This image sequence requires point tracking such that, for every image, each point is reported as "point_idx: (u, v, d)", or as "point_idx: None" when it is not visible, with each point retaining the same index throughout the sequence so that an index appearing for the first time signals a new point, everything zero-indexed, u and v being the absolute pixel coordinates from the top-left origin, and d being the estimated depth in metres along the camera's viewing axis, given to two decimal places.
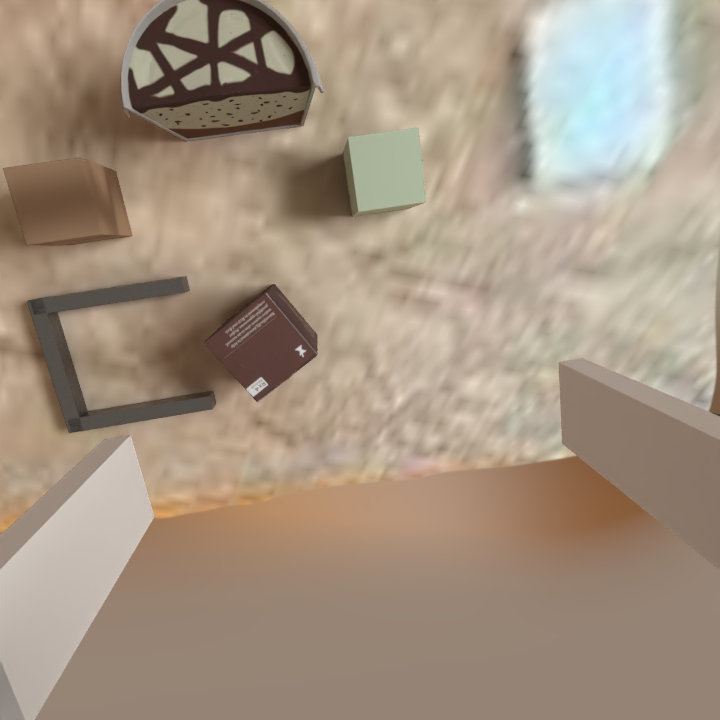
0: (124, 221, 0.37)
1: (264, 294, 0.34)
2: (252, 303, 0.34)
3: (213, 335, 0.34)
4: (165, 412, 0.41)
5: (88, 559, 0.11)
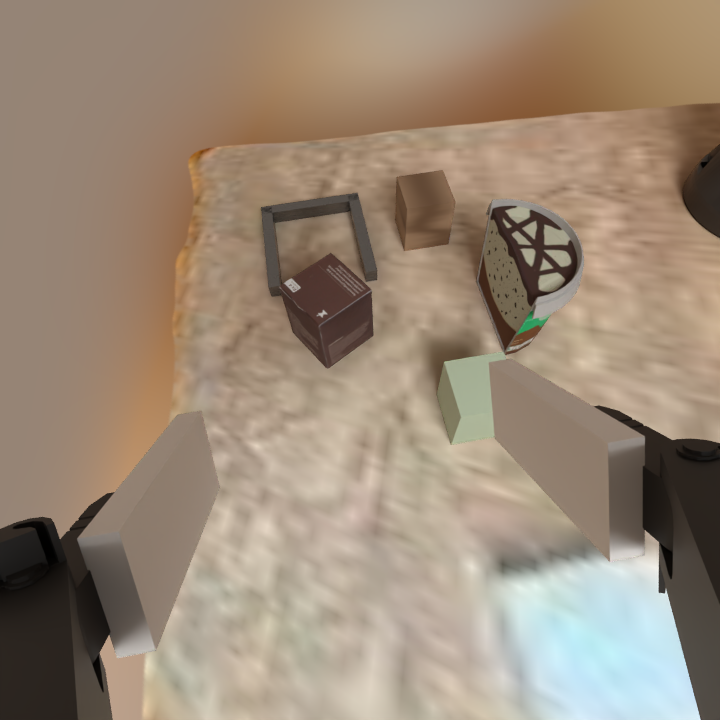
0: (414, 243, 0.52)
1: (370, 289, 0.41)
2: (362, 282, 0.42)
3: (336, 258, 0.43)
4: (269, 258, 0.51)
5: (181, 515, 0.12)
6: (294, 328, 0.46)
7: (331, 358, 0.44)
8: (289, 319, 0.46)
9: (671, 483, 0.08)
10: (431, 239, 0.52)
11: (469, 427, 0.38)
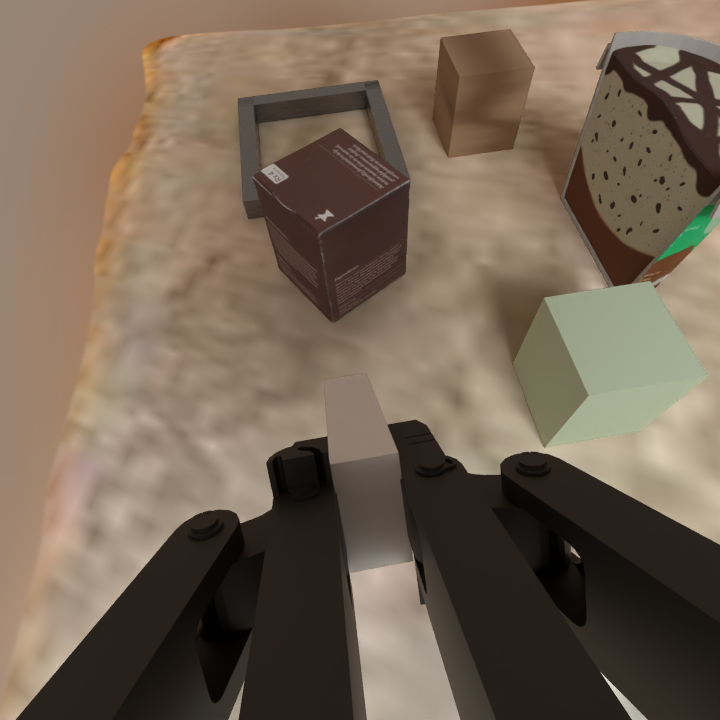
0: (464, 145, 0.35)
1: (407, 178, 0.24)
2: (394, 169, 0.24)
3: (350, 135, 0.26)
4: (246, 163, 0.34)
5: None
6: (280, 259, 0.29)
7: (339, 304, 0.27)
8: (272, 244, 0.29)
9: (413, 504, 0.08)
10: (489, 138, 0.35)
11: (591, 417, 0.21)
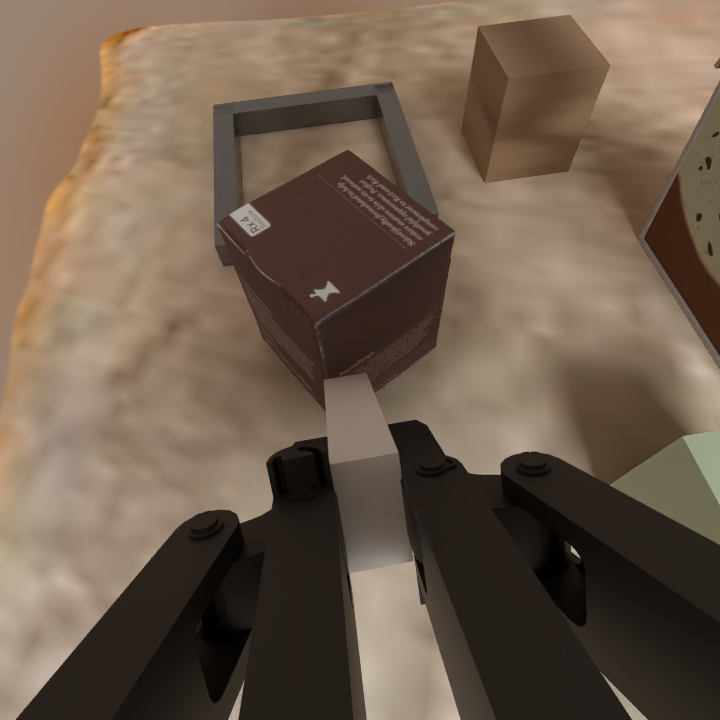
0: (506, 167, 0.27)
1: (451, 230, 0.16)
2: (429, 213, 0.16)
3: (362, 161, 0.18)
4: (221, 191, 0.26)
5: None
6: (263, 329, 0.21)
7: None
8: (252, 309, 0.21)
9: (414, 504, 0.08)
10: (539, 159, 0.27)
11: None
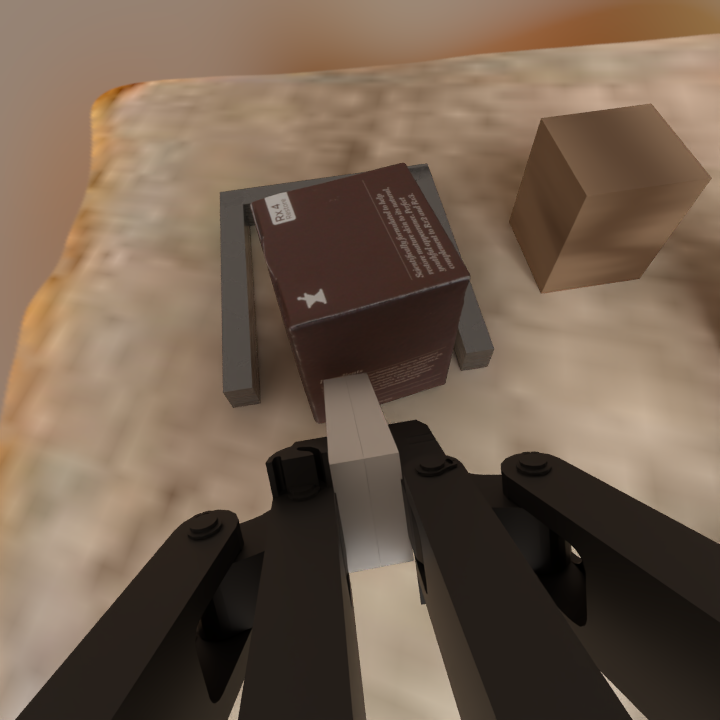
0: (569, 278, 0.23)
1: (467, 273, 0.15)
2: (454, 250, 0.15)
3: (412, 178, 0.17)
4: (230, 313, 0.21)
5: None
6: None
7: None
8: None
9: (414, 504, 0.08)
10: (609, 269, 0.22)
11: None
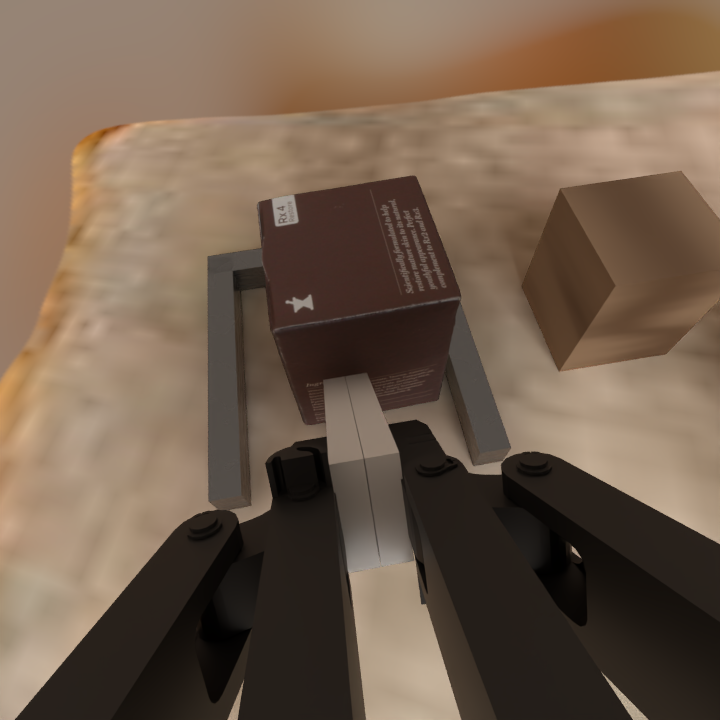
0: (590, 357, 0.20)
1: (458, 293, 0.14)
2: (449, 268, 0.15)
3: (420, 191, 0.17)
4: (218, 403, 0.19)
5: None
6: None
7: (315, 410, 0.19)
8: None
9: (414, 504, 0.08)
10: (634, 347, 0.20)
11: None
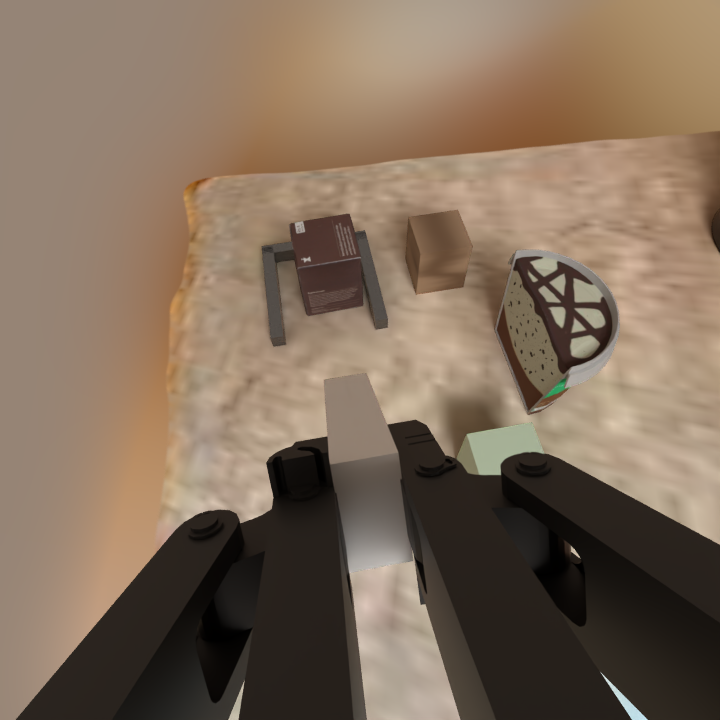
0: (427, 287, 0.49)
1: (359, 256, 0.43)
2: (358, 248, 0.43)
3: (350, 220, 0.45)
4: (271, 305, 0.47)
5: None
6: None
7: (311, 307, 0.47)
8: None
9: (413, 504, 0.08)
10: (445, 283, 0.48)
11: None
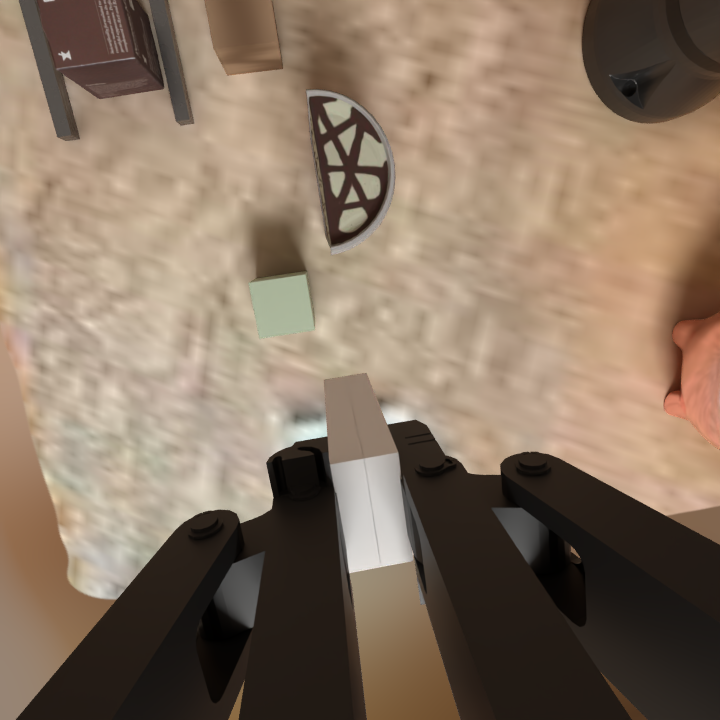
0: (238, 70, 0.42)
1: (133, 55, 0.35)
2: (130, 39, 0.35)
3: None
4: (48, 86, 0.40)
5: None
6: None
7: (98, 93, 0.41)
8: None
9: (413, 504, 0.08)
10: (259, 66, 0.42)
11: None
